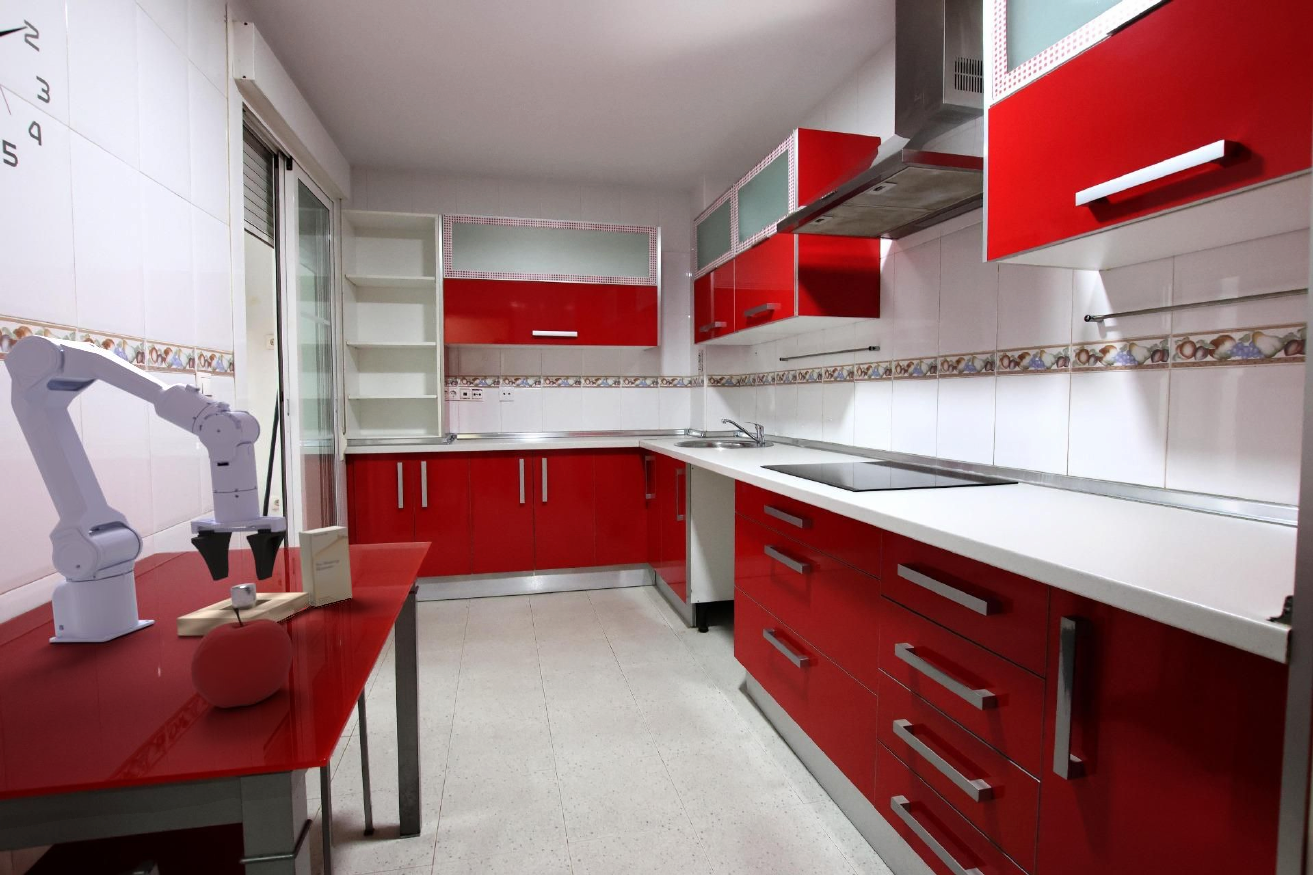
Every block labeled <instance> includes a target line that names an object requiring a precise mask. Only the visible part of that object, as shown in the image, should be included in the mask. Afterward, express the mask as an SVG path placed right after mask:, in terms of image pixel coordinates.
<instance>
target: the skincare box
mask: <svg viewBox="0 0 1313 875" xmlns="http://www.w3.org/2000/svg"><path fill="white" fill-rule="evenodd" d="M298 544H299V558H300V559H299V560H300V568H301V584H302V593H303V592H309V603H310V605H311V606H321V605H324V604H328V603H331V602H336V601H339V600H345V599H347V598H351V599H352V598H353V588H352V587H353V586H352V575H351V563H350V550H349V548H350V547H349V535H348V527H347V526H339V525H332V526H327V527H320V528H315V529H310V530H305V531H298ZM345 601H346V600H345ZM311 606H310V607H311ZM321 607H322V606H321Z"/></svg>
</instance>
